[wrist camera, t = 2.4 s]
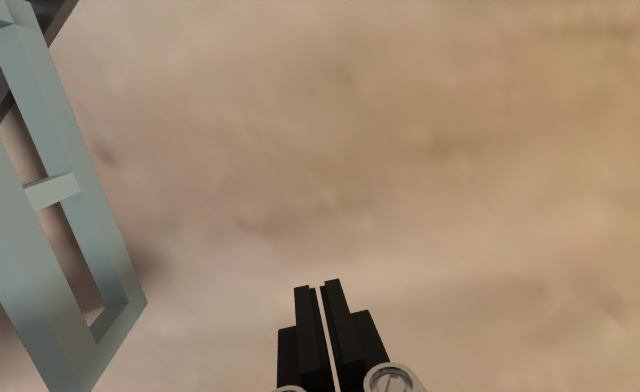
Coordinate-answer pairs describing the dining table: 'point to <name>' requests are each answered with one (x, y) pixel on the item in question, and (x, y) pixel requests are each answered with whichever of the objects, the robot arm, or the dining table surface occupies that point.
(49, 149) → the gate
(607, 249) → the dining table surface
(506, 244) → the dining table surface
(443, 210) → the dining table surface
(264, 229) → the dining table surface
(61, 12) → the gate frame
